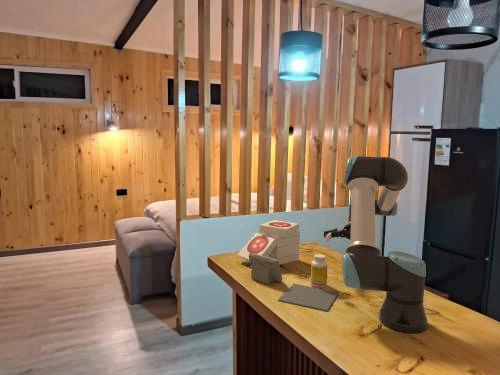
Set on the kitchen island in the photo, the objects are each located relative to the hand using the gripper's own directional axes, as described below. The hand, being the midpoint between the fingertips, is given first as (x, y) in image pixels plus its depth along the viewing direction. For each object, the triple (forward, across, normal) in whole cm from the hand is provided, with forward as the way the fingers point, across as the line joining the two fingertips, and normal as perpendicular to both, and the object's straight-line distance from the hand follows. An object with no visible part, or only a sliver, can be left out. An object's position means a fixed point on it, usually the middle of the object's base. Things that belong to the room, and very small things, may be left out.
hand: (342, 241), depth 160 cm
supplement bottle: (+8, +7, -18) cm, 21 cm away
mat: (+21, +7, -18) cm, 29 cm away
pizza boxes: (-12, +38, -19) cm, 44 cm away
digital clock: (+12, +30, -18) cm, 37 cm away
